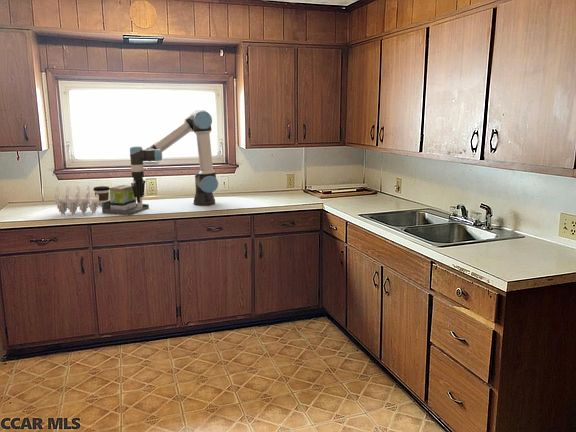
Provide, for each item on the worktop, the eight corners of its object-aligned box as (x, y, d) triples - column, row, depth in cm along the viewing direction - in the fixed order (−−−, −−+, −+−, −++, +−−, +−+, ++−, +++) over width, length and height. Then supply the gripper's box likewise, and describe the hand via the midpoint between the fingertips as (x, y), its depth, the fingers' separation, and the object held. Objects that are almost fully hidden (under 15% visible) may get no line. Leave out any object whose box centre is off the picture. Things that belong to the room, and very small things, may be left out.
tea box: (124, 211, 303) (122, 188, 300) (110, 210, 305) (108, 187, 302) (136, 206, 317) (135, 184, 314) (123, 206, 320) (121, 184, 316)
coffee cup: (105, 206, 327) (104, 188, 324) (91, 205, 329) (89, 188, 327) (114, 203, 337) (112, 186, 335) (100, 202, 340) (98, 185, 337)
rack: (148, 208, 319) (148, 198, 318) (129, 215, 299) (129, 204, 297) (122, 206, 325) (122, 196, 323) (102, 213, 304) (101, 202, 302)
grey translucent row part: (97, 220, 302) (55, 220, 297) (101, 204, 316) (60, 203, 310) (94, 197, 291) (50, 196, 286) (98, 181, 305) (56, 180, 299)
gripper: (138, 169, 310) (140, 204, 315) (126, 172, 298) (129, 208, 303) (148, 169, 308) (150, 205, 313) (136, 172, 296) (139, 209, 301)
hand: (140, 207), depth 308 cm, fingers closed
